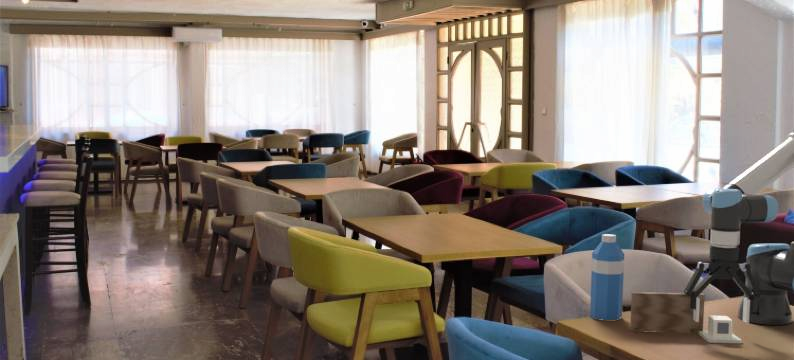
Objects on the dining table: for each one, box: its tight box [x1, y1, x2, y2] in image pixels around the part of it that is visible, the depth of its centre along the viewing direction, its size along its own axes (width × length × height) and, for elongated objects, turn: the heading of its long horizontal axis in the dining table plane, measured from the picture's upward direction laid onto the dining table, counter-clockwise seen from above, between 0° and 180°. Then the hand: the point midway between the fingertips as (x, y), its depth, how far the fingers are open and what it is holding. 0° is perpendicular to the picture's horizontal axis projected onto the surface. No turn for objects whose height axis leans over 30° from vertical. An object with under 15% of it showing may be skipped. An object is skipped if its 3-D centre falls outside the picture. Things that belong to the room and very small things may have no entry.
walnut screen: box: [629, 291, 705, 335], centre depth 248 cm, size 20×4×11 cm, turn 88°
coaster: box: [698, 330, 743, 344], centre depth 242 cm, size 9×9×1 cm
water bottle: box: [589, 233, 625, 321], centre depth 263 cm, size 9×9×25 cm
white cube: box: [707, 315, 733, 338], centre depth 242 cm, size 5×5×5 cm
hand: (720, 321), depth 242 cm, fingers open, 13 cm apart
